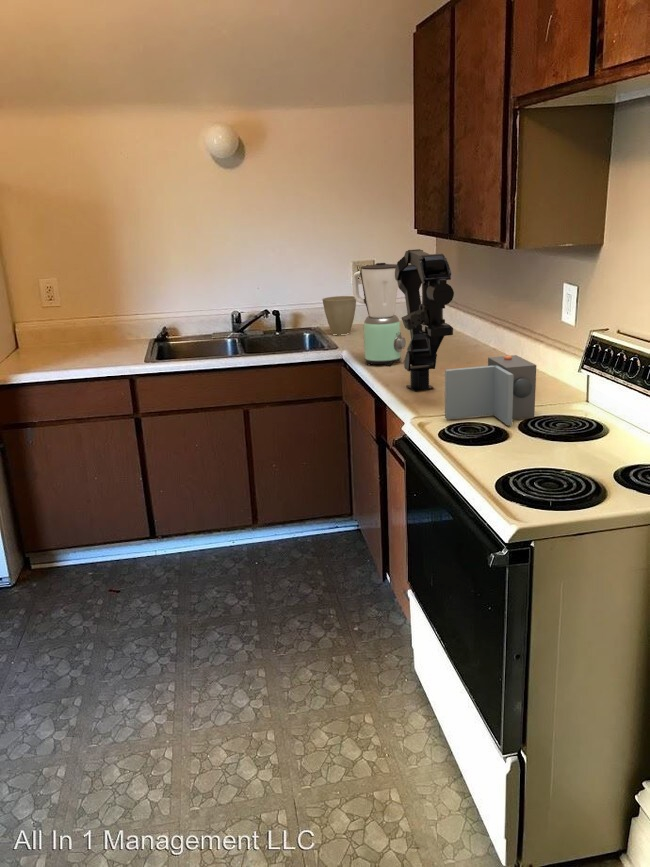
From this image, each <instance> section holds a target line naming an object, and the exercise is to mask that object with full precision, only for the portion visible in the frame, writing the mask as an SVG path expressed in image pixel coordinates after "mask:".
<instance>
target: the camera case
mask: <svg viewBox="0 0 650 867" xmlns="http://www.w3.org/2000/svg"><path fill="white" fill-rule="evenodd" d="M493 365H498V366H499V367H501V368H503V369H505V370H506V371H508V372H510V373H512V374H513V375H514V377H513V411H512V421H515V420H525V419H534V418H535V415H536V414H535V412H536V411H535V410H536V408H535V407H536V388H537V387H536V384H537V364H535V363H533V362H531V361H529V360H527V359H525V358H522V357H520V356H519V355H517V354H514V355H501V356H491V357H489V356H488V358H487V366H493Z"/></svg>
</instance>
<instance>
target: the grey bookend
mask: <svg viewBox="0 0 650 867" xmlns="http://www.w3.org/2000/svg"><path fill="white" fill-rule="evenodd" d="M513 377H514V375H513V374H512V373H510V372H508V371H506V370H505V369H503V368H501V367H499V366H498V365H493V366H488V365H484V366H483V365H482V366H473V367H471V366H470V367H461V368H449V369H444V418H445V419H446V420H454V419H455V420H456V419H464V418H465V419H466V418H475V417H486V416H495V417H496V418H497V419H498V420H499V421H501V422H502V423H504V424H505V425H506V426H512V425H513V420H512V411H513Z"/></svg>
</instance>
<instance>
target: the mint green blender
mask: <svg viewBox="0 0 650 867" xmlns="http://www.w3.org/2000/svg"><path fill="white" fill-rule="evenodd" d="M396 265H397V263H396V264H395V263H391V264H390V263H387V262H377V263H375V264H368V265H362V266H361V267H360V270H359V271H355V272H354V273H353V276H352V293H353V296H354V298H355V299H356V302H358V303H359V304H364V305H365V306H366V311H367V315H368V316H366V317H365V319H364V322H363V345H364V346H363V347H364V348H363V349H364V360H365V364H366V363H367V364H371V363H372V364H373V365H385V367H391V366H392V364H394V363H398V361H399V362H400V361H401V359H402V351H403V350H404V349H405V348H406V341H407V340H406V338H405V337H403V336H402V333H401V320H400V318H399V317H398V316H397V315H396V314H395V312H396V304H397V296H398V289H399V287H398V283H397V281H396V279H395V269H396ZM359 276H360V278H361V283H362V292H363V298H362V297H361V295H360V290H359Z"/></svg>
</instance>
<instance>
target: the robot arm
mask: <svg viewBox="0 0 650 867" xmlns="http://www.w3.org/2000/svg"><path fill="white" fill-rule="evenodd" d="M396 264H397V265H396V269H395V279H396V281H397V283H398V289H399V290H400V291H401V292H402V294H404V298H405V299H404V300H405V305H406V312H407V314H406V315H403V316H401V321H402V323H403V326H404V328H405V329H407V331H409V335H410V342H409V343H408V346H407V348H406V354H405V357H404V360H403V365H404V366H403V367H404V369H405V371H407V372H409V374H410V375H409V379H410V384H407V385H406V388H407V389H409V390H411V391H413V392H421V391H426V390H429V391H430V390H434V387H433V386H432V385H430V370H435V369H436V366H437V365H436V363H437V357H438V354H437V352H438V350H439V348H440V345H441V344H442V341H443V340H444V338H445V336H448V337H449V336H454V327H453V326H451V325H450V324H449V323H447V322H446V319H445V318H444V309H446V306H448V304H450V303H451V302H452V300H454V296H455V292H454V289H453V287H452V286H451V285H450V284H448V283H447V281H451V278H452V277H451V276H452V271H451V266H450V264H449V262H448V259H447V257H446V256H445V255H444V253H433V254H429V253H428V252H425V251H424V250H423V249H421V248H417V249H408V250H406V251H405V252H404V256H403V257H401V259H399V260H398V261H397V262H396ZM420 289H421V294H420Z"/></svg>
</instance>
